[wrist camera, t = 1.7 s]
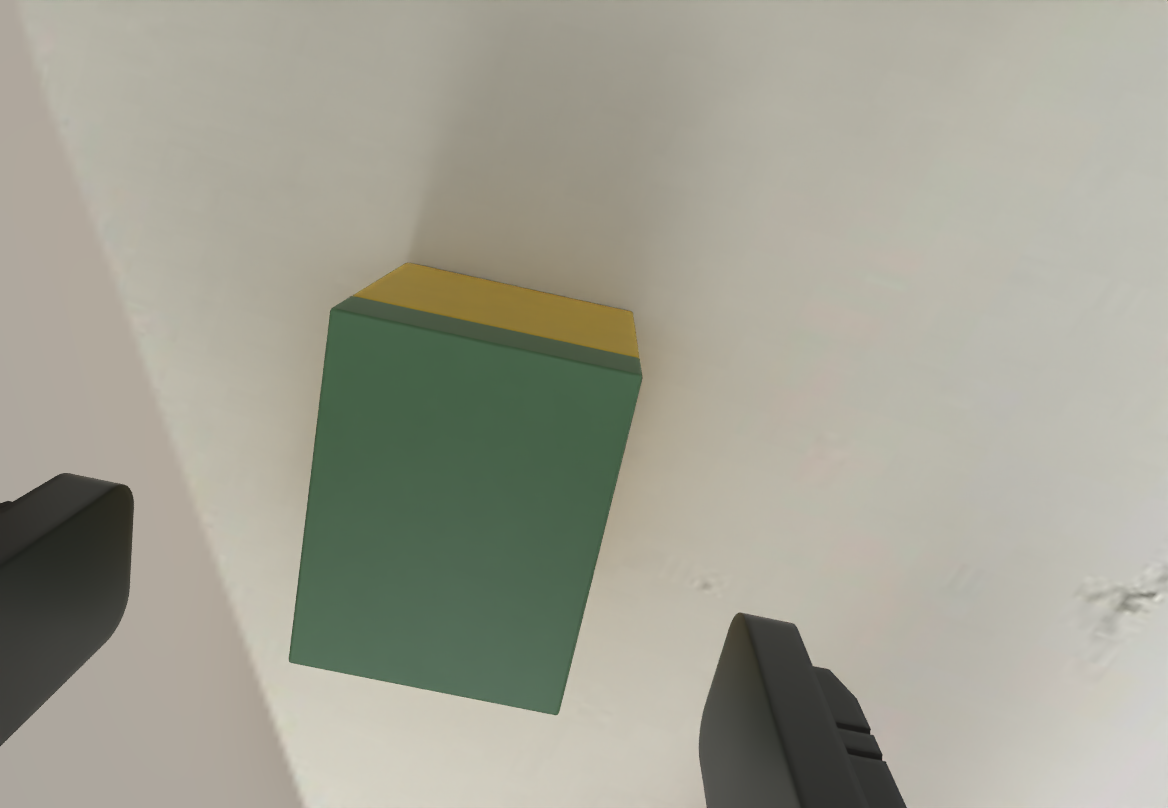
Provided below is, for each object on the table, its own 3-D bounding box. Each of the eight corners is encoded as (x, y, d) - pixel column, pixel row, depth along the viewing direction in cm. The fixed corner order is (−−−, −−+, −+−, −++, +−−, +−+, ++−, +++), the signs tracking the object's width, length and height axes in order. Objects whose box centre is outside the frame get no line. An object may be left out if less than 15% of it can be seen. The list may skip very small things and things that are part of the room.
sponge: (405, 261, 16) (329, 307, 11) (633, 311, 16) (643, 375, 11) (365, 534, 17) (287, 663, 13) (569, 576, 18) (558, 716, 13)
